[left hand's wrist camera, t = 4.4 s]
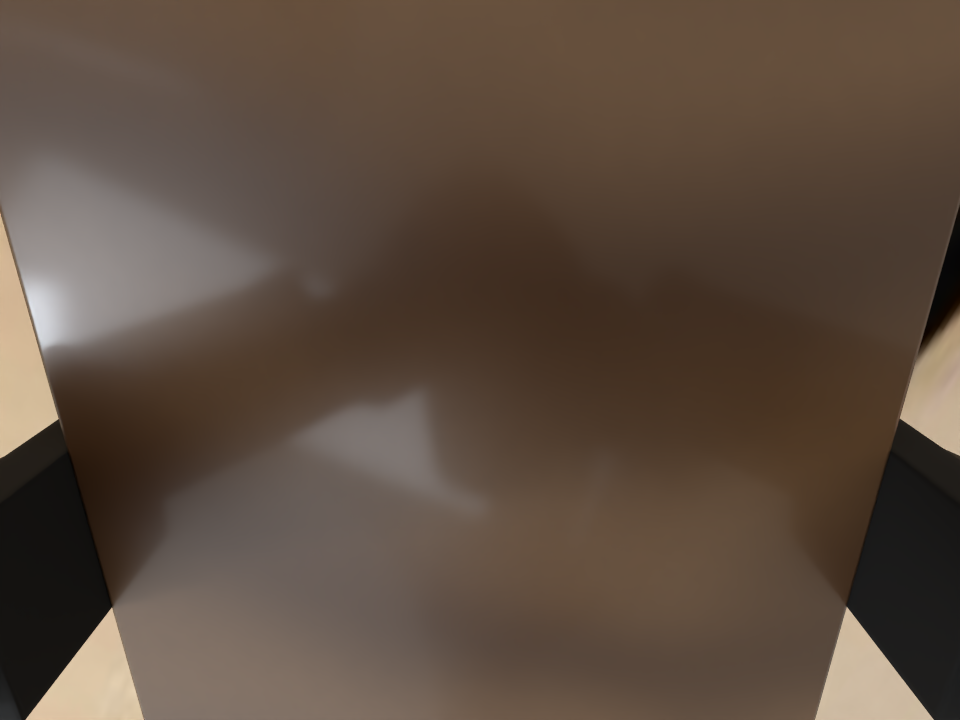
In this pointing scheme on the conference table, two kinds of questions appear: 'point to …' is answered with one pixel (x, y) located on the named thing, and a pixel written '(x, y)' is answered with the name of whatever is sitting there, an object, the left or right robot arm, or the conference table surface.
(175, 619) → the cabinet
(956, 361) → the conference table surface
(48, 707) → the conference table surface
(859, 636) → the conference table surface
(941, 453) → the left robot arm
